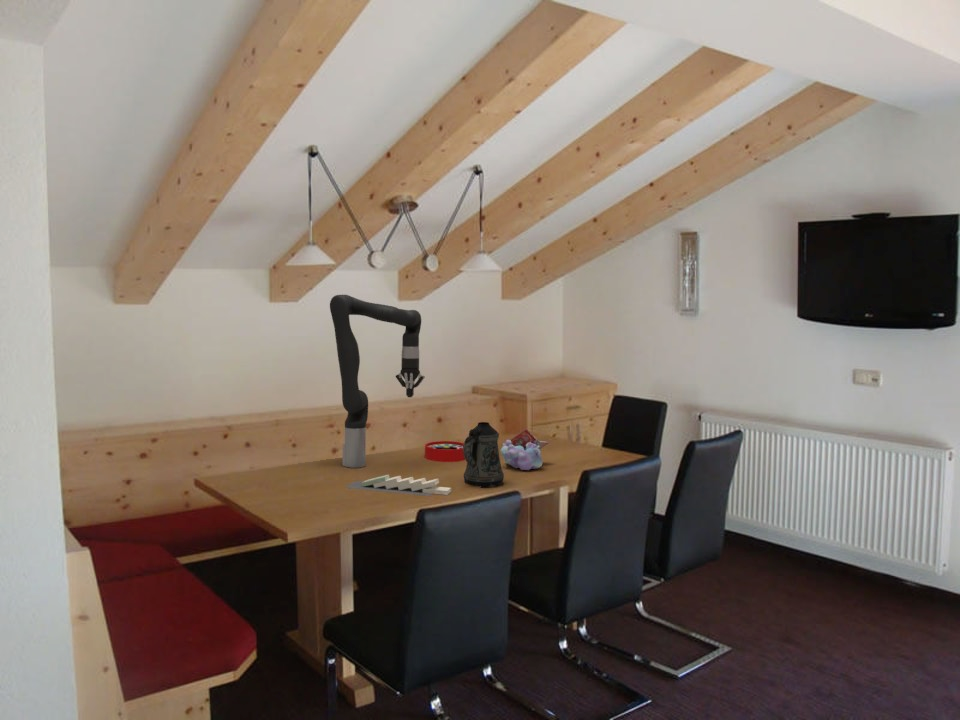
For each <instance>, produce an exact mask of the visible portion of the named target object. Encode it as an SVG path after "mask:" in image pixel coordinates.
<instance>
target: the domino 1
mask: <svg viewBox="0 0 960 720" xmlns="http://www.w3.org/2000/svg"><path fill="white" fill-rule="evenodd" d="M390 478H391V475H390V474H386V475H381V476H377V477H373V478H369V479H366V480H363V481H364V482H362V486H363V487H364V486H368V485H372V484H376V483H380V482H384V481H386V480H388V479H390Z"/></svg>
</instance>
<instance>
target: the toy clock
mask: <svg viewBox="0 0 960 720" xmlns="http://www.w3.org/2000/svg"><path fill="white" fill-rule="evenodd" d="M463 444H464V442H459V441H451V440H450V441H449V440H440V441H439V440H438V441H430V442H426V443H425V444H424V458H425V459H426V460H429V461H433V462H440V463H453V462H461V461H466V459H465V457H464V454H463Z"/></svg>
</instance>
